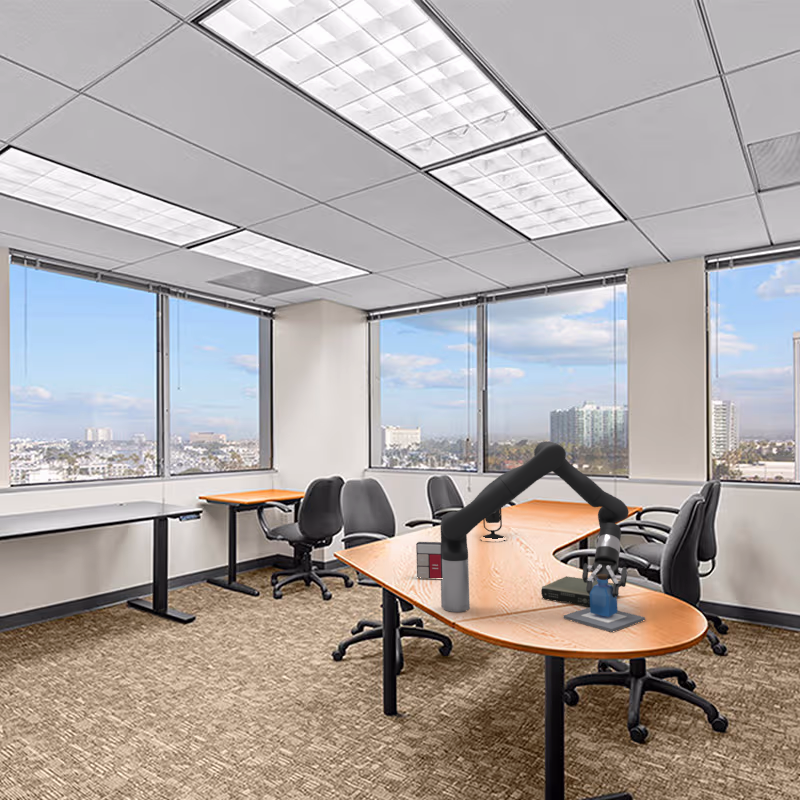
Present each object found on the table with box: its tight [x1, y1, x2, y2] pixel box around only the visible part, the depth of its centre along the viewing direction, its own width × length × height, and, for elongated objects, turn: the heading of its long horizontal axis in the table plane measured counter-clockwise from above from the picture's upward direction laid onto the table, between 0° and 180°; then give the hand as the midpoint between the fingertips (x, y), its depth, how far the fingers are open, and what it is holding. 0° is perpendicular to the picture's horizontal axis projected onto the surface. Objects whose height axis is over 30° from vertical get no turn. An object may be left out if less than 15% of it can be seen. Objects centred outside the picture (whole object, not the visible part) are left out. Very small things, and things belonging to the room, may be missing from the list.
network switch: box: [540, 576, 620, 608], centre depth 219 cm, size 23×23×5 cm
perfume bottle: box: [590, 574, 618, 617], centre depth 193 cm, size 6×6×12 cm
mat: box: [562, 607, 646, 633], centre depth 192 cm, size 18×18×1 cm
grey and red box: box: [415, 541, 443, 578], centre depth 253 cm, size 11×4×15 cm, turn 76°
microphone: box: [482, 508, 505, 539], centre depth 343 cm, size 16×16×30 cm
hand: (601, 594), depth 192 cm, fingers closed on perfume bottle, 7 cm apart
